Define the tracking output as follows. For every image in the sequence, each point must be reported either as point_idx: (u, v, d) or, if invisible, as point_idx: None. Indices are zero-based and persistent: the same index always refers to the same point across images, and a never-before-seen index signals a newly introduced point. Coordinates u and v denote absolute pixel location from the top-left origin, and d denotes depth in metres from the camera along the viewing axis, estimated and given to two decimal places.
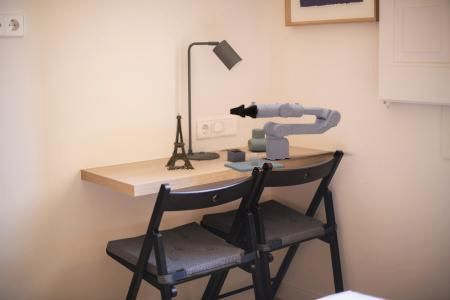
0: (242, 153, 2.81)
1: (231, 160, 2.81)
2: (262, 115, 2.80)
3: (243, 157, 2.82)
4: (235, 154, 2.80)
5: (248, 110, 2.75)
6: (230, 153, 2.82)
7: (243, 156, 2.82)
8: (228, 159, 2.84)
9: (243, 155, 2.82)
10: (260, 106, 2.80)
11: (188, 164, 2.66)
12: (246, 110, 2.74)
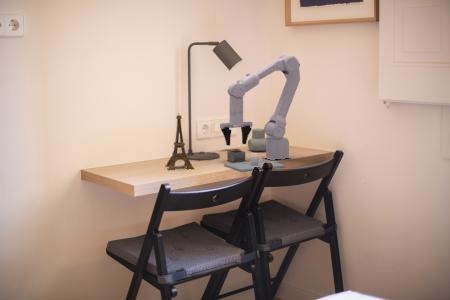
0: (242, 153, 2.81)
1: (231, 160, 2.81)
2: (233, 117, 2.78)
3: (243, 157, 2.82)
4: (235, 154, 2.80)
5: (226, 135, 2.80)
6: (230, 153, 2.82)
7: (243, 156, 2.82)
8: (228, 159, 2.84)
9: (243, 155, 2.82)
10: None
11: (188, 164, 2.66)
12: (226, 137, 2.80)
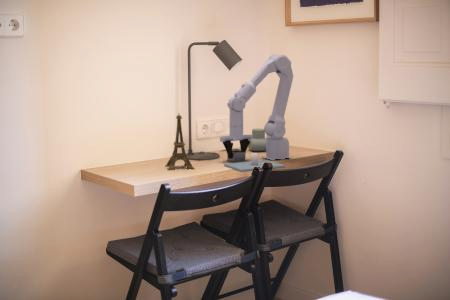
0: (242, 153, 2.81)
1: (231, 160, 2.81)
2: (233, 130, 2.79)
3: (243, 157, 2.82)
4: (235, 154, 2.80)
5: (228, 148, 2.82)
6: None
7: (243, 156, 2.82)
8: (228, 159, 2.84)
9: (243, 155, 2.82)
10: None
11: (188, 164, 2.66)
12: (228, 150, 2.82)
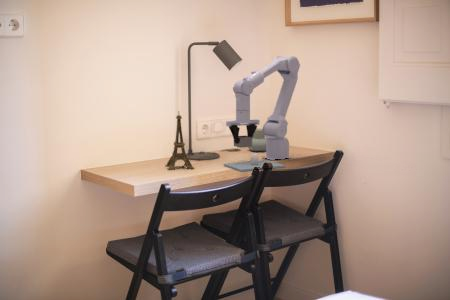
0: (249, 138, 2.75)
1: (237, 145, 2.75)
2: (240, 114, 2.73)
3: (250, 142, 2.76)
4: (241, 139, 2.74)
5: (234, 133, 2.75)
6: None
7: (250, 141, 2.76)
8: (234, 144, 2.78)
9: (250, 140, 2.75)
10: None
11: (188, 164, 2.66)
12: (234, 135, 2.76)
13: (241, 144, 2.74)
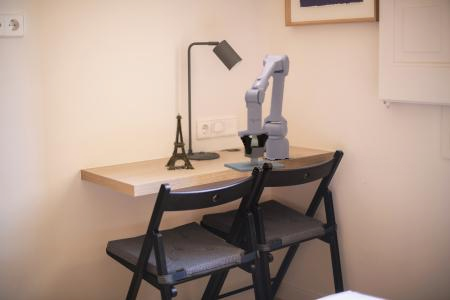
0: (261, 148, 2.68)
1: (249, 156, 2.68)
2: (252, 124, 2.65)
3: (262, 153, 2.68)
4: (254, 149, 2.66)
5: (246, 143, 2.67)
6: None
7: (262, 151, 2.68)
8: (245, 155, 2.70)
9: (262, 150, 2.68)
10: None
11: (188, 164, 2.66)
12: (246, 146, 2.68)
13: (253, 155, 2.66)
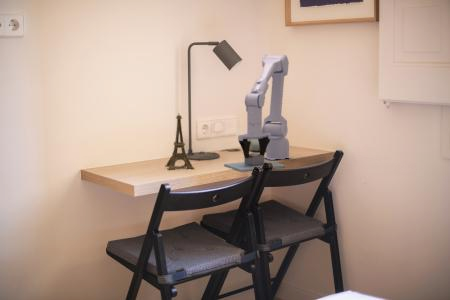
0: (261, 156, 2.68)
1: (249, 164, 2.68)
2: (252, 128, 2.65)
3: (262, 160, 2.69)
4: (254, 157, 2.66)
5: (244, 147, 2.67)
6: None
7: (262, 159, 2.69)
8: (245, 163, 2.70)
9: (262, 158, 2.69)
10: None
11: (188, 164, 2.66)
12: (244, 150, 2.67)
13: (254, 163, 2.67)
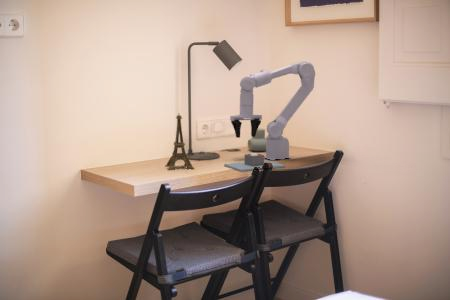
0: (261, 156, 2.68)
1: (249, 164, 2.68)
2: (244, 109, 2.83)
3: (262, 160, 2.69)
4: (254, 157, 2.66)
5: (236, 127, 2.85)
6: (248, 156, 2.68)
7: (262, 159, 2.69)
8: (245, 163, 2.70)
9: (262, 158, 2.69)
10: None
11: (188, 164, 2.66)
12: (236, 130, 2.85)
13: (254, 163, 2.67)
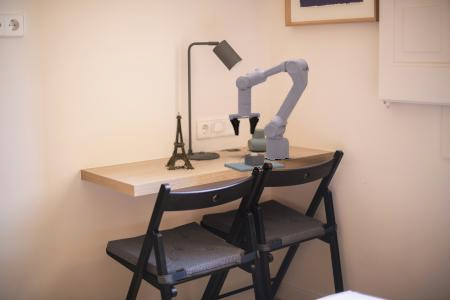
0: (261, 156, 2.68)
1: (249, 164, 2.68)
2: (242, 108, 2.90)
3: (262, 160, 2.69)
4: (254, 157, 2.66)
5: (235, 126, 2.92)
6: (248, 156, 2.68)
7: (262, 159, 2.69)
8: (245, 163, 2.70)
9: (262, 158, 2.69)
10: None
11: (188, 164, 2.66)
12: (235, 128, 2.92)
13: (254, 163, 2.67)
